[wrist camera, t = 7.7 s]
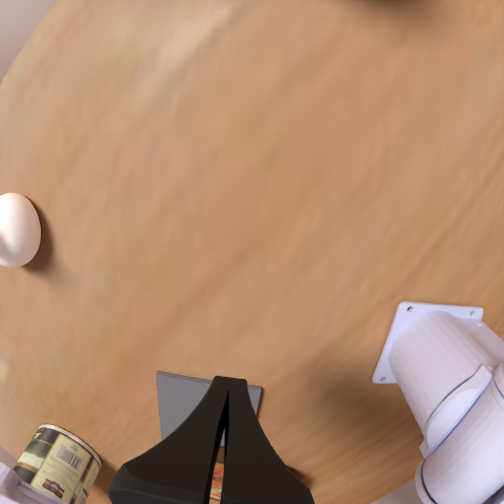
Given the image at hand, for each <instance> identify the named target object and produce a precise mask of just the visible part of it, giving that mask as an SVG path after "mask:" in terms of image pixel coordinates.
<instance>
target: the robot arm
mask: <svg viewBox="0 0 504 504" xmlns="http://www.w3.org/2000/svg"><path fill="white" fill-rule="evenodd" d="M410 306H411V308H410V309H409V310H407V309H408V308H409V307H410ZM471 312H472V313H471ZM470 313H471V314H470ZM482 315H483V309H482V308H481V307H473V306H458V305H444V304H431V303H419V302H407V301H404V302H401V303H400V304H399V306H398V308H397V311H396V314H395V317H394V320H393V323H392V326H391V329H390V332H389V335H388V338H387V340H386V343H385V346H384V348H383V351H382V354H381V356H380V359H379V362H378V364H377V367H376V369H375V372H374V374H373V377H372V380H373V382H374V383H398V385H399V387H400V389H401V391H402V393H403V395H404V397H405V399H406V401H407V403H408V405H409V407H410V409H411V411H412V413H413V415H414V417H415V419H416V421H417V423H418V425H419V428H420V430H421V432H422V434H423V436H424V440H423V442H422V444H421V445H420V446H419V448H420V451H421V453H422V455H423V458H424V459H423V460H422V461H421V462H420V464H419V465H418V467H417V470H416V473H415V485H416V489H417V492H418V494H419V497H420V499H421V500H422V502H423V504H504V341H503V340H502V339H501V338H500V337H499V336H498V335H497V334H496V333H495V332H493V331H492V330H491V329H490V328H489V327H488V326H487V325H486V324H485V323H484V322H483V321H482V320H481V317H482ZM383 377H384V378H383ZM381 378H383V379H381ZM224 429H225V430H224ZM223 433H224V473H223V483H222V491H221V499H220V504H315V503H314V500H313V497H312V495H311V492H310V490H309V488H307V487H306V486H305V485H304V484H303V483H302V482H301V481H300V480H299V479H298V478H297V477H296V476H295V475H294V474H293V473H292V472H291V471H290V470H289V469H288V467H287V466H286V465H285V464H284V462H283V461H282V460H281V459H280V457H279V456H278V455H277V453H276V452H275V450H274V449H273V447H272V446H271V444H270V443H269V441H268V439H267V437H266V436H265V434H264V432H263V430H262V428H261V426H260V424H259V421H258V419H257V417H256V414H255V411H254V409H253V406H252V403H251V400H250V396H249V392H248V386H247V381H246V380H245V379H238V378H230V377H223V376H215V377H214V379H213V381H212V383H211V385H210V387H209V389H208V390H207V392H206V394H205V395H204V397H203V398H202V400H201V401H200V402H199V404H198V405H197V406H196V408H195V409H194V410H193V411H192V412H191V414H190V415H189V416H188V417H187V418H186V419H185V421H184V422H183V423H182V424H181V425H180V426H179V427H178V428H176V429H175V430H174V431H173V432H172V433H171V434H170V435H169V436H167V437H166V438H165V439H164V440H162V441H161V442H160V443H158V444H157V445H155V446H154V447H152V448H151V449H149V450H148V451H146V452H145V453H143V454H141V455H140V456H138V457H136V458H134V459H132V460H130V461H128V462H126V463H124V464H123V465H122V466H121V468H120V469H119V470H118V472H117V474H116V475H115V477H114V479H113V481H112V483H111V486H110V488H109V491H108V495H109V498H110V500H111V501H112V503H113V504H209V501H210V494H211V487H212V480H213V473H214V468H215V464H216V460H217V456H218V452H219V449H220V445H221V441H222V437H223ZM0 504H68V503H66V502H64V501H62V500H60V499H57V498H55V497H53V496H51V495H49V494H47V493H45V492H43V491H41V490H39V489H37V488H35V487H33V486H31V485H30V484H28V483H26V482H24V481H22V480H21V479H20V478H19V476H18V475H17V473H16V472H15V471H14V470H13V469H11V468H10V467H9V466H7V465H5V464H4V463H2V462H0Z"/></svg>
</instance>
